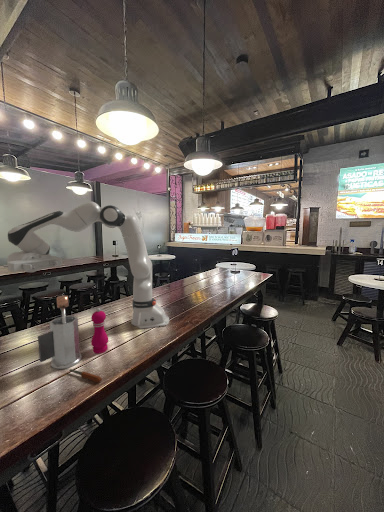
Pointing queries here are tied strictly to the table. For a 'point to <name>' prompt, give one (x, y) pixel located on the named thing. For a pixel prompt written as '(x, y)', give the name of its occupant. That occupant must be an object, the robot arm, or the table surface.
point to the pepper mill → (99, 332)
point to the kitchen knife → (87, 376)
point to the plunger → (62, 306)
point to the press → (61, 343)
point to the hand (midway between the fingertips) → (45, 265)
